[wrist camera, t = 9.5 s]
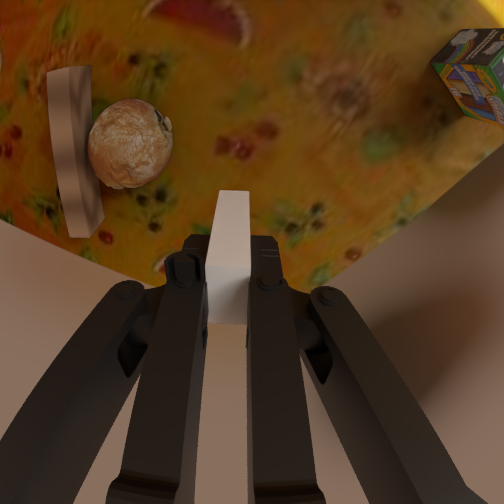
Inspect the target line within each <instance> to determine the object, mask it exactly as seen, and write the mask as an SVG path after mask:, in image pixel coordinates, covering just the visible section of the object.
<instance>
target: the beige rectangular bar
mask: <svg viewBox="0 0 504 504" xmlns="http://www.w3.org/2000/svg"><path fill="white" fill-rule="evenodd" d="M47 95H48V111H49V123H50V133H51V141H52V149H53V156H54V163H55V169H56V175H57V181H58V186H59V192H60V197H61V201H62V206H63V211H64V215H65V219H66V223H67V228H68V232H69V235H70V237H79V238H90V237H91V236H92V234H93V233H94V232H95V230H96V229H97V228H98V227H99V225H100V224H101V223H102V222H103V220H104V219H105V216H104V210H103V204H102V198H101V192H100V185H99V178H98V177H97V176H95V174H94V170H93V167H92V165H91V163H90V161H89V159H88V158H89V157H88V152H87V146H88V142H87V141H88V136H89V133H90V131H91V129H92V127H93V120H92V103H91V66H71V67H66V68H62V69H58V70H54V71H51V72H47Z"/></svg>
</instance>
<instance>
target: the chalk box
mask: <svg viewBox="0 0 504 504" xmlns="http://www.w3.org/2000/svg"><path fill="white" fill-rule="evenodd" d="M431 65H432V66H433V67H434V69H435V70H436V71H437V73H438V74H439V76H440V77H441V79H442V80H443V82H444V83H445V85H446V86H447V88H448V89H449V91H450V92H451V94H452V95H453V97H454V99H455V100H456V102H457V103H458V105H459V106H460V108H461V110H462V112H463V113H464V115H465V116H468V117H471V118H474V119H477V120H480V121H483V122H486V123H489V124H492V125H495V126H498V127H501V128H503V129H504V28H495V29H463V30H462V31H461V32H459V33H458V34H457V35H456V36H455V37H454V38H453V39H452V40H451V41H450V42H449V43H448V44H447V45H446V46H445V47H444V48H443V49H442V50H441V51H440V52H439V53H438V54H437V55H436V56H435V57H434V58H433V59H432V61H431Z"/></svg>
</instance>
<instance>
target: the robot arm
mask: <svg viewBox="0 0 504 504" xmlns="http://www.w3.org/2000/svg"><path fill="white" fill-rule="evenodd" d="M164 264H165V271H166V278H167V282H166V284H165V285H162V286H160V287H156V288H151V289H144V286H143V285H142V284H141V283H139V282H137V281H133V280H127V281H122V282H120V283H117V284H115V285H114V286H113V287H112V288H111V289H110V290H109V291H108V292H107V293H106V295H105V296H104V297H103V298H102V299H101V301H100V302H99V303H98V304H97V305H96V307H95V308H94V309H93V310H92V312H91V313H90V314H89V315H88V317H87V318H86V319H85V320H84V322H83V323H82V324H81V325H80V327H79V328H78V329H77V331H76V332H75V333H74V334H73V336H72V337H71V338H70V340H69V341H68V342H67V343H66V345H65V346H64V347H63V349H62V350H61V352H60V353H59V354H58V355H57V357H56V358H55V360H54V361H53V362H52V364H51V365H50V366H49V368H48V369H47V370H46V372H45V373H44V375H43V376H42V377H41V379H40V380H39V382H38V383H37V385H36V386H35V388H34V389H33V390H32V392H31V394H30V395H29V396H28V398H27V399H26V401H25V402H24V404H23V405H22V407H21V408H20V410H19V411H18V413H17V414H16V416H15V418H14V419H13V421H12V422H11V424H10V426H9V427H8V429H7V430H6V432H5V434H4V435H3V437H2V439H1V441H0V504H73V502H74V500H75V498H76V496H77V494H78V492H79V490H80V488H81V486H82V484H83V482H84V480H85V478H86V475H87V474H88V472H89V470H90V468H91V466H92V463H93V462H94V460H95V458H96V456H97V454H98V452H99V450H100V448H101V446H102V444H103V442H104V440H105V438H106V437H107V435H108V433H109V431H110V429H111V427H112V425H113V423H114V421H115V419H116V418H117V416H118V414H119V412H120V410H121V408H122V406H123V404H124V402H125V401H126V399H127V397H128V395H129V393H130V392H131V390H132V388H133V386H134V384H135V382H136V381H137V379H138V377H139V375H140V374H141V375H140V379H139V383H138V388H137V392H136V396H135V401H134V405H133V409H132V414H131V419H130V424H129V428H128V433H127V438H126V443H125V448H124V454H123V459H122V465H121V470H120V473H119V475H118V477H117V478H116V479H115V480H113V481H112V482H111V484H110V486H109V488H108V492H107V496H106V503H105V504H194V493H195V476H196V461H197V447H198V433H199V421H200V409H201V397H202V396H201V395H202V386H203V376H204V365H205V355H206V346H207V336H208V330H207V322H208V323H218V324H247V336H246V348H247V463H248V465H247V466H248V504H326V500H325V497H324V494H323V492H322V491H321V490H320V489H319V487H318V485H317V480H316V473H315V464H314V456H313V448H312V440H311V433H310V425H309V417H308V410H307V403H306V395H305V388H304V381H303V375H302V368H301V362H300V356H301V358H302V360H303V362H304V364H305V366H306V368H307V371H308V373H309V375H310V377H311V379H312V381H313V383H314V386H315V388H316V390H317V392H318V394H319V396H320V398H321V401H322V403H323V405H324V407H325V409H326V411H327V413H328V416H329V418H330V420H331V422H332V424H333V426H334V428H335V431H336V433H337V435H338V437H339V439H340V441H341V443H342V446H343V448H344V450H345V452H346V454H347V456H348V459H349V460H350V463H351V465H352V467H353V469H354V471H355V474H356V475H357V478H358V480H359V482H360V484H361V486H362V489H363V491H364V493H365V495H366V497H367V499H368V502H369V504H488V503H487V502H485V501H484V500H483V499H482V498H480V497H479V496H478V495H477V494H475V493H474V492H473V491H472V490H471V489H469V488H468V487H467V486H466V484H465V483H464V481H463V479H462V477H461V475H460V473H459V472H458V470H457V468H456V466H455V464H454V463H453V461H452V459H451V457H450V456H449V454H448V452H447V450H446V449H445V447H444V445H443V444H442V442H441V440H440V439H439V437H438V435H437V433H436V432H435V430H434V428H433V427H432V425H431V423H430V422H429V420H428V419H427V417H426V415H425V414H424V412H423V410H422V409H421V407H420V406H419V404H418V402H417V401H416V399H415V398H414V396H413V395H412V393H411V391H410V390H409V388H408V387H407V385H406V383H405V382H404V381H403V379H402V377H401V376H400V374H399V373H398V371H397V370H396V368H395V367H394V365H393V364H392V362H391V361H390V359H389V357H388V356H387V354H386V353H385V351H384V350H383V349H382V347H381V346H380V344H379V343H378V341H377V340H376V338H375V337H374V335H373V334H372V333H371V331H370V329H369V328H368V326H367V325H366V324H365V322H364V321H363V319H362V318H361V317H360V315H359V314H358V312H357V311H356V309H355V308H354V306H353V305H352V304H351V302H350V301H349V299H348V298H347V296H346V295H345V294H344V293H343V292H342V291H340V290H338V289H336V288H334V287H329V286H320V287H317V288H315V289H314V290H313V291H312V292H311V294H307V293H303V292H300V291H297V290H294V289H293V288H291V287H290V286H288V283H287V281H286V280H285V279H284V278H283V273H282V266H281V260H280V254H279V248H278V242H277V241H276V240H275V239H274V238H273V237H272V236H255V235H250V211H249V191H229V190H220V192H219V196H218V201H217V206H216V211H215V216H214V221H213V226H212V232H211V235H200V234H191V235H190V236H189V237H188V238H187V239H186V240H185V241H184V244H183V249H182V251H179V252H176V253H173V254H171V255H169V256H168V257H167V258H166V259H165V261H164ZM299 354H300V355H299Z"/></svg>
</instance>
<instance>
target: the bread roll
mask: <svg viewBox="0 0 504 504" xmlns="http://www.w3.org/2000/svg"><path fill="white" fill-rule="evenodd" d="M171 130H172V125H171V122H170V119H169V118H168V117H167V116H166V117H163V116H162V115H161V114H160V113H159V112H158V111H157V110H156V109H155V108H154V107H153V106H152V105H151V104H149V103H147V102H145V101H143V100H140V99H124V100H121V101H118V102H116V103H114V104H112V105H110V106H109V107H107V108H106V109H105V110H104V111H103V112H102V113H101V114H100V115H99V116H98V118H97V120H96V121H95V123H94V125H93V127H92V129H91V131H90V133H89V136H88V141H87V142H88V146H87V152H88V157H89V158H88V159H89V161H90V163H91V165H92V167H93V170H94V174H95V176H97V177H98V178H99V179H100V180H101V181H102V182H103V183H105V184H106V186H108V187H110V186H111V187H112V188H114V189H123V188H124V187H129V188H137V187H139V186H143V185H144V184H146V183H148V182H150V181H152V180H154V179H155V178H156V177H158V176H159V175H160V174H161V173H162V172H163V170H164V169H165V167H166V165H167V163H168V160H169V158H170V155H171V151H172V146H173V139H172V133H171Z"/></svg>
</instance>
